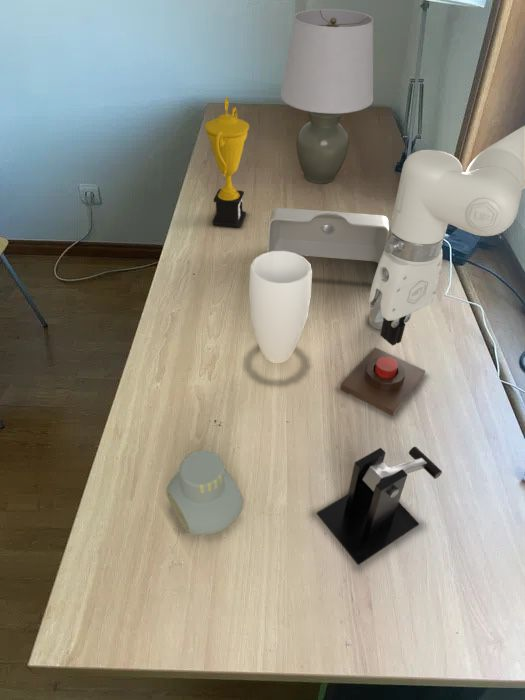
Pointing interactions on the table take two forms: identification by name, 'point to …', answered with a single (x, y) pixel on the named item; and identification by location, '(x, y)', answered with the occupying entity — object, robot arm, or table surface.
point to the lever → (383, 471)
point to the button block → (382, 383)
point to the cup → (279, 302)
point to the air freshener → (204, 494)
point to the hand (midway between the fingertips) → (390, 339)
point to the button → (386, 367)
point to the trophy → (228, 165)
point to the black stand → (369, 512)
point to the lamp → (327, 83)
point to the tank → (328, 234)
